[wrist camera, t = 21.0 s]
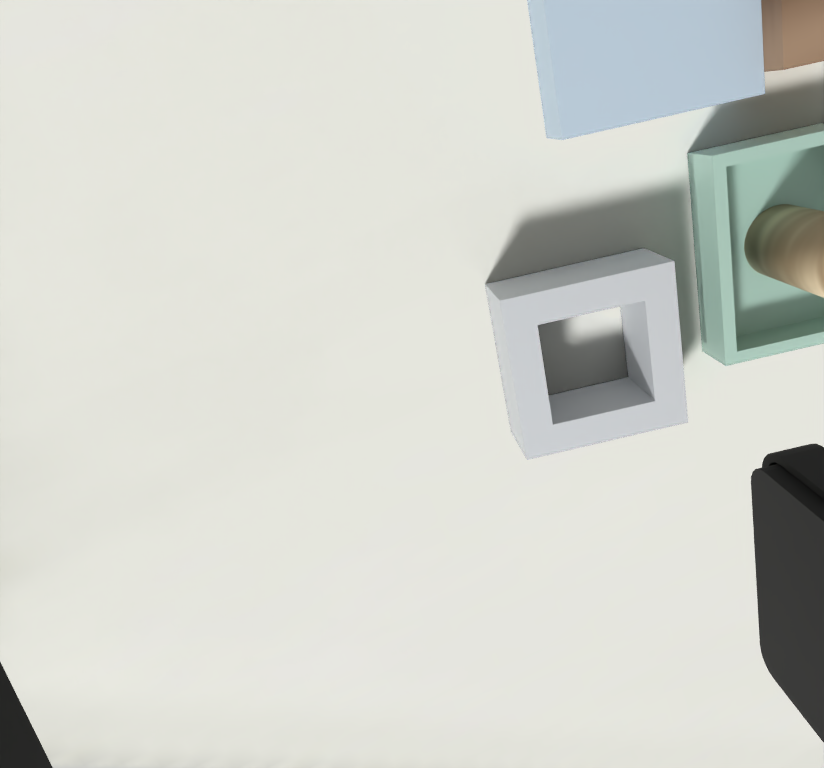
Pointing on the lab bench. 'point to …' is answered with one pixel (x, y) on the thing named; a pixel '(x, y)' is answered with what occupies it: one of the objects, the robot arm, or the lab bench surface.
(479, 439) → the lab bench surface
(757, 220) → the dowel
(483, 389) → the lab bench surface
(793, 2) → the block
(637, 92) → the board
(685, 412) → the socket block
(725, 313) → the tray
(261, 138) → the lab bench surface
